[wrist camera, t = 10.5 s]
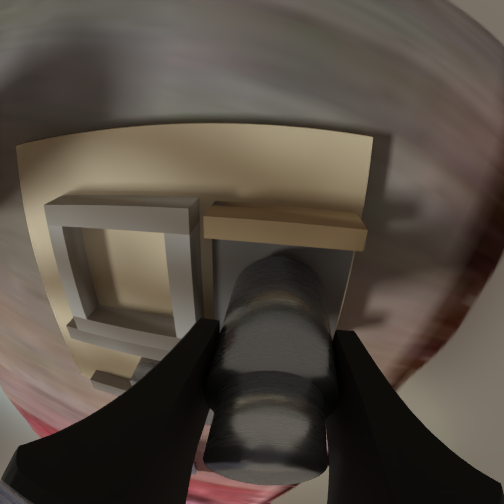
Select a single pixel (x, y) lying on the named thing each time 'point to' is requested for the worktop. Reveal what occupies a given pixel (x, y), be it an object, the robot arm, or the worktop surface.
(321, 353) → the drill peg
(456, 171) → the worktop surface
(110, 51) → the worktop surface
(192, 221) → the socket board
